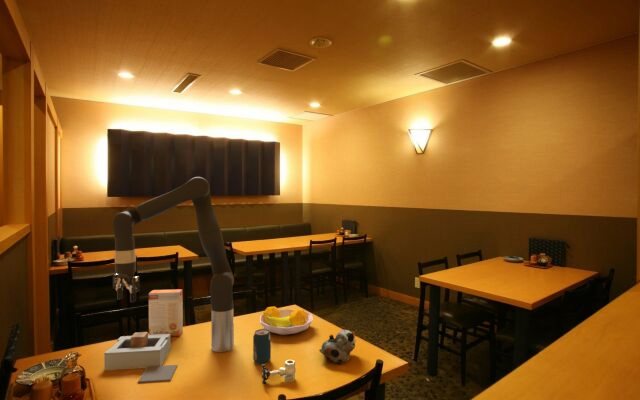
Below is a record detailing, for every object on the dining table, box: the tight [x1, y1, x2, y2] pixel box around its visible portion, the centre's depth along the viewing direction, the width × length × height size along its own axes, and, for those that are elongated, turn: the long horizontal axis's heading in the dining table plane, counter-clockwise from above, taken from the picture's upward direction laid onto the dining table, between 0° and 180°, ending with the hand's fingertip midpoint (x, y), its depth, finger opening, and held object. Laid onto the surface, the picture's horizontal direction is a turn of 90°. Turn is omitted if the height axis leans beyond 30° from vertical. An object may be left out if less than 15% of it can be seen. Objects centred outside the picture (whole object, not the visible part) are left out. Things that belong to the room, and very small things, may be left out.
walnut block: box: [131, 331, 149, 348], centre depth 147 cm, size 5×5×8 cm
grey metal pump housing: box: [318, 329, 357, 365], centre depth 150 cm, size 15×12×14 cm
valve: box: [261, 359, 297, 385], centre depth 131 cm, size 7×7×12 cm
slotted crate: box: [103, 334, 172, 371], centre depth 148 cm, size 20×16×7 cm
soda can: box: [252, 328, 272, 366], centre depth 146 cm, size 7×7×12 cm
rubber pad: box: [137, 364, 178, 384], centre depth 136 cm, size 11×11×1 cm
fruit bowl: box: [259, 306, 314, 336], centre depth 180 cm, size 28×27×11 cm
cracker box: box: [148, 288, 184, 337], centre depth 173 cm, size 14×6×21 cm, turn 95°
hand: (126, 300), depth 148 cm, fingers open, 8 cm apart
